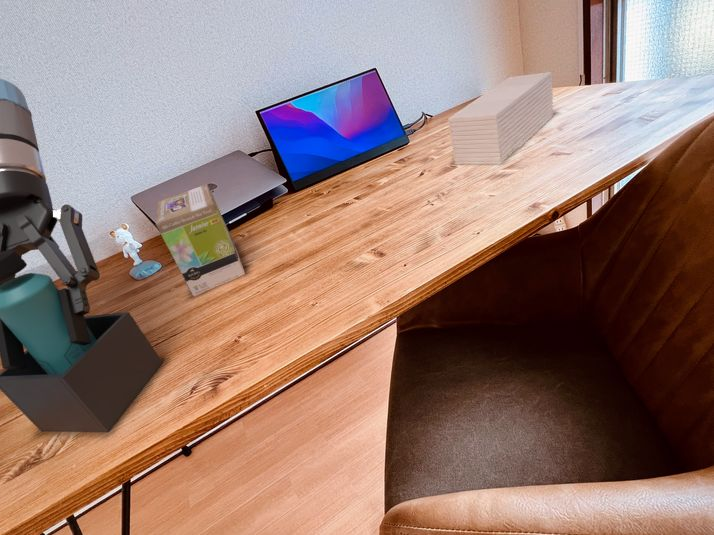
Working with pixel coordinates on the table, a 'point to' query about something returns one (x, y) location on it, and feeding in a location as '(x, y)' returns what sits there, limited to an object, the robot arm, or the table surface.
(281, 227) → the table surface
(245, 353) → the table surface
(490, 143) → the stack of papers
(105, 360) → the waste bin
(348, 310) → the table surface
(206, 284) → the tea box
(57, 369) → the beverage bottle
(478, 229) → the table surface
